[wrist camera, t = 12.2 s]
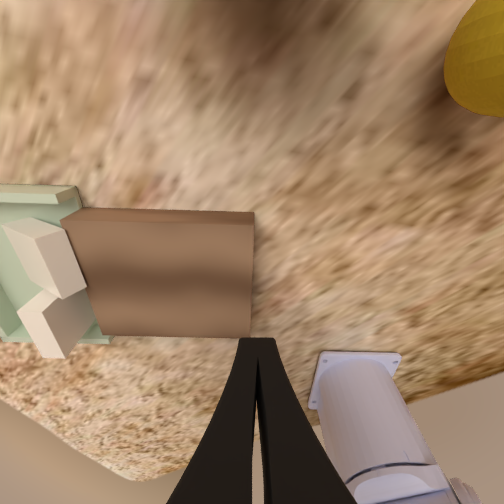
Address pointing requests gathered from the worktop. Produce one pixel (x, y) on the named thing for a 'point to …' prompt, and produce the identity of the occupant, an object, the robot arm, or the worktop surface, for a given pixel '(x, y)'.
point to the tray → (9, 266)
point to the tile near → (46, 255)
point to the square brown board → (166, 270)
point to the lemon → (478, 59)
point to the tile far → (57, 321)
